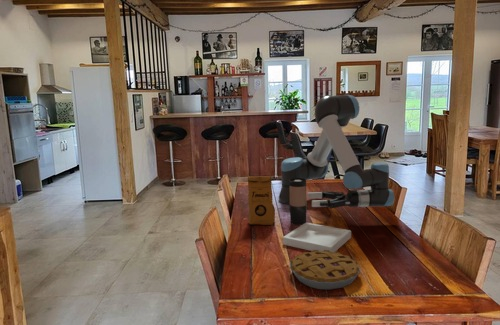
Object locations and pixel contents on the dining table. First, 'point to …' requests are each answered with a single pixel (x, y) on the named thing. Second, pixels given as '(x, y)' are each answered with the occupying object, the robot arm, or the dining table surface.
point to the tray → (317, 237)
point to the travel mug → (298, 201)
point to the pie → (324, 269)
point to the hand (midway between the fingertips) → (309, 199)
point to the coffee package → (260, 201)
